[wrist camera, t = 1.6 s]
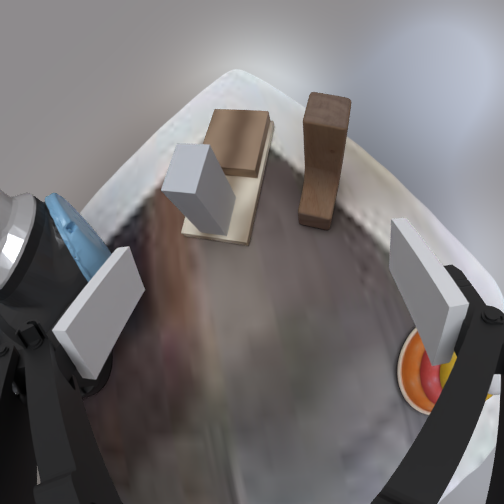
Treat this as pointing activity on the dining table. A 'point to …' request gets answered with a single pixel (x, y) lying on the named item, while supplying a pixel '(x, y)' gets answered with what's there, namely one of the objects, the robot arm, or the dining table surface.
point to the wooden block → (323, 157)
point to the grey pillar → (200, 188)
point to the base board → (240, 206)
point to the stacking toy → (426, 375)
